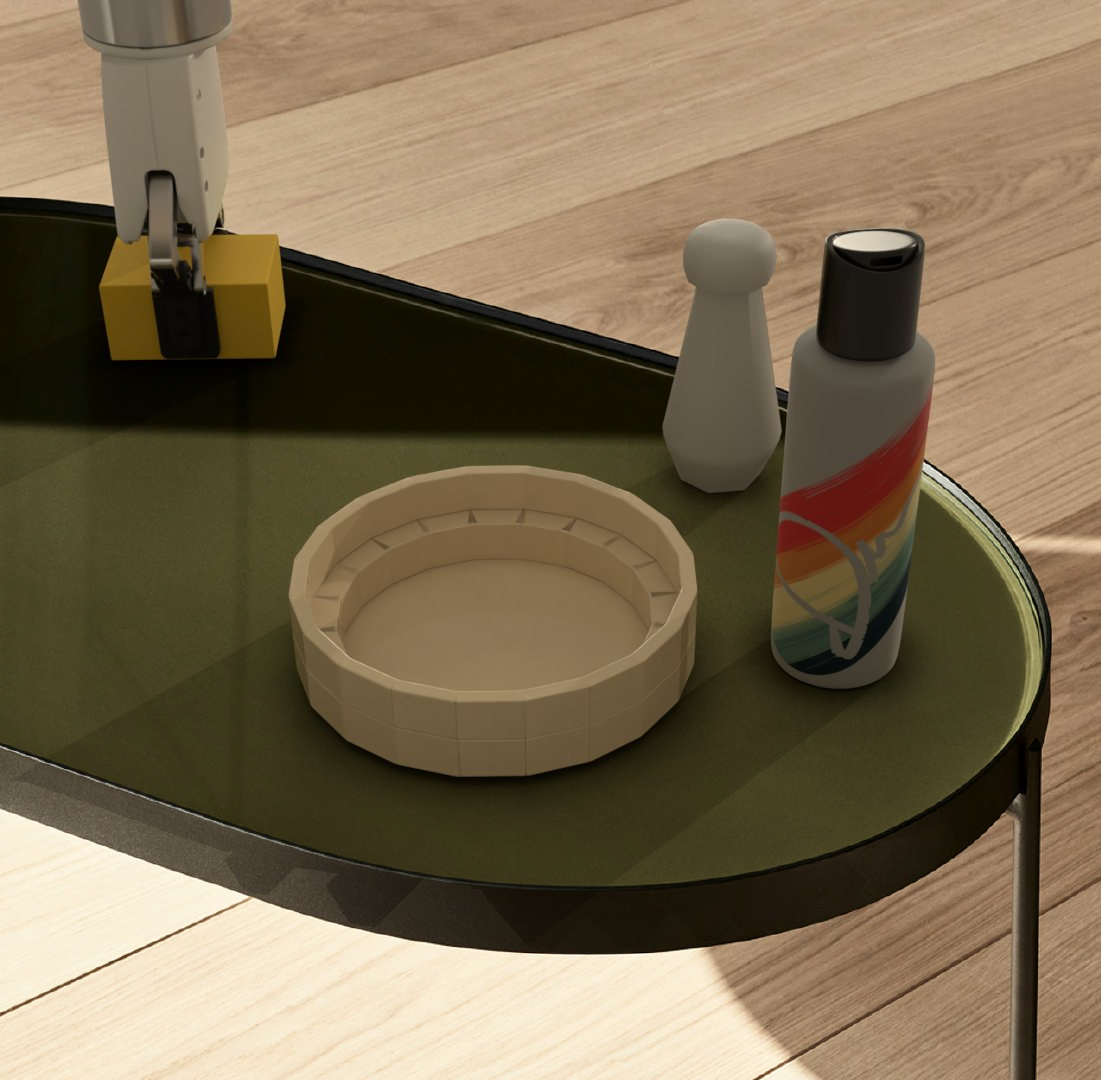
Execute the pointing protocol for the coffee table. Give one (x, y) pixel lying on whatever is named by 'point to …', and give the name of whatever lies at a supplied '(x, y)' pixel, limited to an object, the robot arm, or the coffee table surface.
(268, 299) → the sponge
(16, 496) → the coffee table surface
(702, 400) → the salt shaker
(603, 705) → the bowl
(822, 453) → the striped bottle
